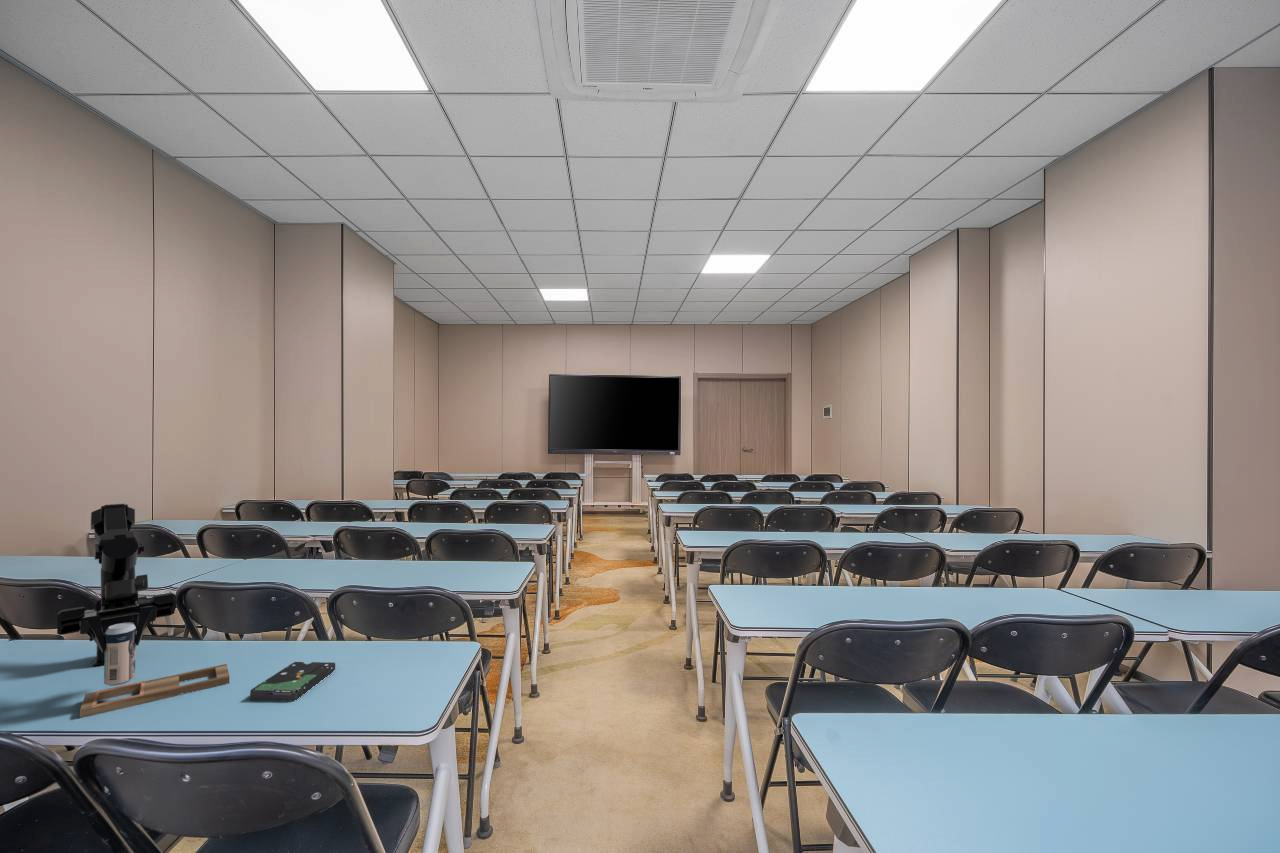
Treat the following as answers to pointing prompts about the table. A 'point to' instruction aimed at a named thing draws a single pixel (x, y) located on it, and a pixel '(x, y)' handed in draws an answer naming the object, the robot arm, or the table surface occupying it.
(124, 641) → the white cylinder
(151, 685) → the wooden tray
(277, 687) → the disk drive
